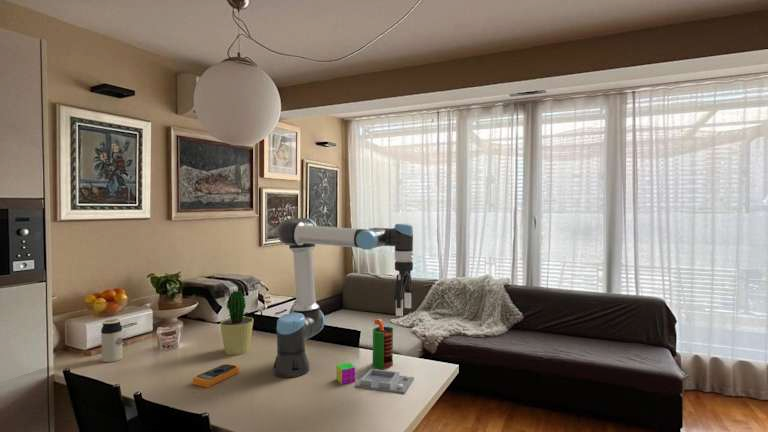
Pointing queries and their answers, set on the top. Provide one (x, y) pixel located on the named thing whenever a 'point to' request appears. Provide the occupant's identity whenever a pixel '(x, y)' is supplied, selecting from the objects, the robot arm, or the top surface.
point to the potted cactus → (236, 326)
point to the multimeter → (215, 375)
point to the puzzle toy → (345, 373)
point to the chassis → (385, 381)
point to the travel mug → (111, 340)
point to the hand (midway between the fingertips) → (403, 311)
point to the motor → (382, 346)
